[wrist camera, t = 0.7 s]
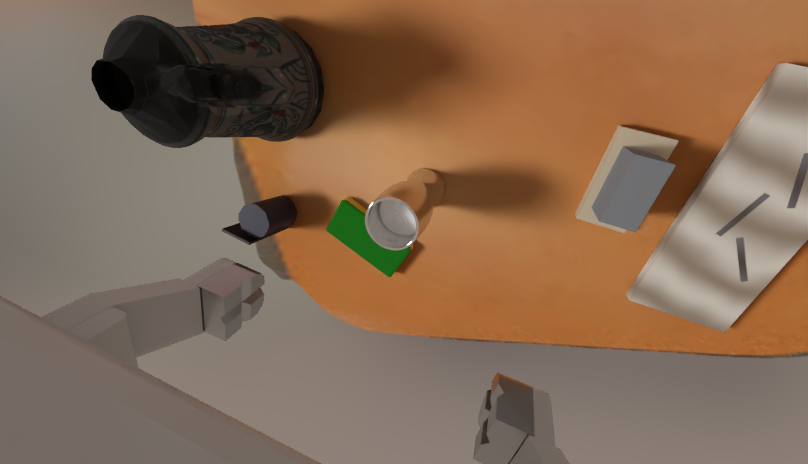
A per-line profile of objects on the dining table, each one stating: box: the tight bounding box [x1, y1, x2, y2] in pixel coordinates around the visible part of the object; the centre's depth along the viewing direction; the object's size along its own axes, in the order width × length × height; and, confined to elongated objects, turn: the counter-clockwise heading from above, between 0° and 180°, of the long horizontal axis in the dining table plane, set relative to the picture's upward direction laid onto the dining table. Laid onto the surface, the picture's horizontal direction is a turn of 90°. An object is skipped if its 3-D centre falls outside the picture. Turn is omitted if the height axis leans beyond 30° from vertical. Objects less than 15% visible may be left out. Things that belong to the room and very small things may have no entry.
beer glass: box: [365, 169, 444, 250], centre depth 45 cm, size 7×7×15 cm
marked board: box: [626, 63, 808, 333], centre depth 39 cm, size 30×12×2 cm, turn 167°
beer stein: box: [92, 15, 324, 148], centre depth 40 cm, size 16×19×25 cm
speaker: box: [222, 196, 297, 245], centre depth 57 cm, size 8×6×10 cm
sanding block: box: [575, 125, 678, 233], centre depth 40 cm, size 12×6×7 cm, turn 167°
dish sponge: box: [326, 197, 414, 277], centre depth 57 cm, size 7×14×2 cm, turn 57°
